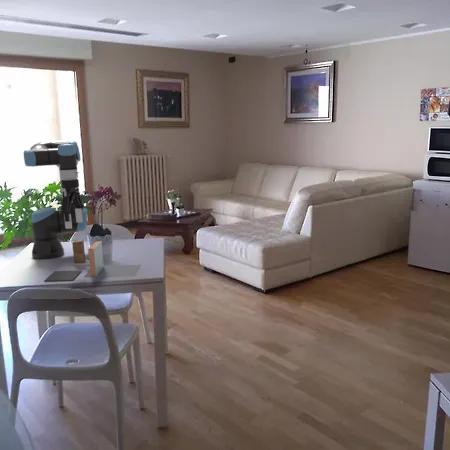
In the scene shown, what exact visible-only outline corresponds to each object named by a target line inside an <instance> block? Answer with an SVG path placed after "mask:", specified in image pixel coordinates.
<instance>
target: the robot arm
mask: <svg viewBox="0 0 450 450" xmlns="http://www.w3.org/2000/svg"><path fill="white" fill-rule="evenodd" d="M23 160H24V165H25V166H26V167H31V168H32V167H43V166H44V167H45V166H56V167H57V168H58V170H59V171H58V173H59V180H60V188H61V198H62V201H61V202H62V203H61V206H60V209H59V210H57V208H55V207H45V208H42V209H38V210H35V211H33V212H32V214H31V226H32V232H33V233H32V235H33V247H32V249H31V256H32V258H33V259H37V260H48V259H54V258H58V257H61V256H63V255H64V254H65V249H64V247H63V245H62V242H61V240H60V235H59V234H68V233H78V232H84V231H86V230H87V229H88V208H87V207H85V206H84V204H83V202H82V201H83V200H82V197H81V194H80V189H79V187H80V183H79V179H78V178H79V173H80V172H79V171H78V164H79V162H80V161H81V152H80V149H79V145H78V142H77V141H76V140H74V139H73V140H72V139H71V140H70V139H66V140H44V141H40V142H37V143H35V144H33V145H32V146H31V147H30V148H29V149H26V150H24V151H23Z"/></svg>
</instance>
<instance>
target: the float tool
mask: <svg viewBox="0 0 450 450" xmlns="http://www.w3.org/2000/svg"><path fill="white" fill-rule="evenodd" d="M71 243H72V244H71V245H72V253H73V255H72V256H73V262H74V263H73V264H72V267H73V266H75V267H76V266H79V267H80V266H90V262H89V258H88V259H86V253H85V250H86V249H85V242H84V239H81V240H80V239H78V240H73V242H71Z"/></svg>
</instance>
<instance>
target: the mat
mask: <svg viewBox="0 0 450 450" xmlns="http://www.w3.org/2000/svg"><path fill="white" fill-rule="evenodd" d="M141 266H142V264H131V265H130V264H128V265H127V264H126V265H125V264H124V265H122V264H121V265H104V267H103V268H102V270H101V271H100V272H99V273H98V275H97V276H91V273H90V269H89V270H88V271H87V273H85V275H84V276H83V278H100V277H101V278H104V277H109V278H111V277H135V276H136V275H137V273H138V272H139V270H140V268H141Z"/></svg>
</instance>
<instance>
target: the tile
mask: <svg viewBox="0 0 450 450" xmlns="http://www.w3.org/2000/svg"><path fill="white" fill-rule="evenodd" d="M102 244H103V243H102V241H101V240H100V241H95V242H94V243H92V245H91V246H90V247H88V249H87V250H88V251H87V252H88V259H89V262H90V265H89V270H90V273H91V276H97V275H98V273H99V272H100V271H101V270H102V268H103V267H104V266H105V264H104V255H103V254H104V253H103V245H102Z"/></svg>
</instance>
